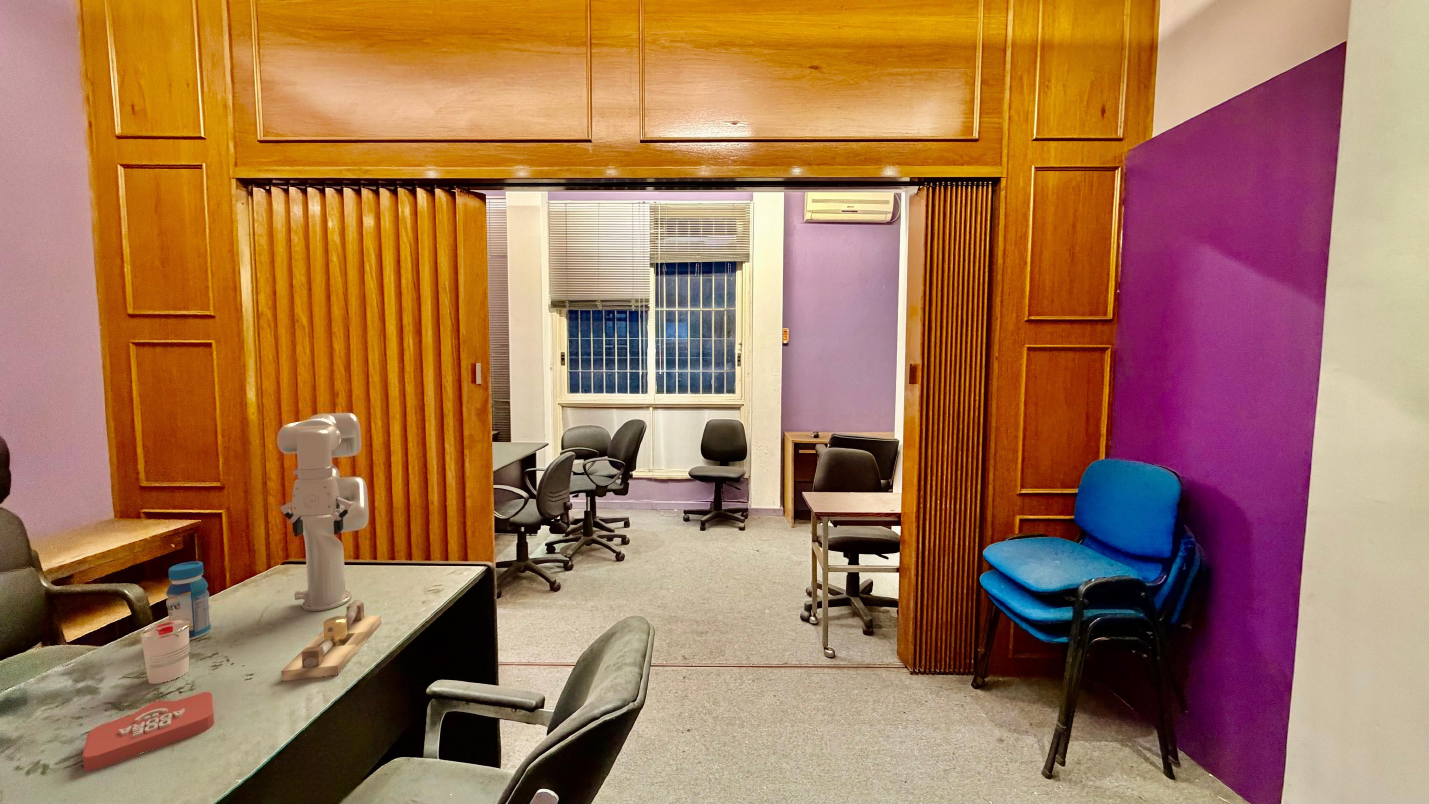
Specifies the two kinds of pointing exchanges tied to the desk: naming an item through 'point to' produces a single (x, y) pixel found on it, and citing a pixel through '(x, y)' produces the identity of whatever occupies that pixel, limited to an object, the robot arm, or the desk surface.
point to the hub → (336, 630)
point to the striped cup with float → (166, 650)
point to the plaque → (148, 730)
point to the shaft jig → (329, 659)
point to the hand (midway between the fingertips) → (318, 534)
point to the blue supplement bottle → (189, 597)
